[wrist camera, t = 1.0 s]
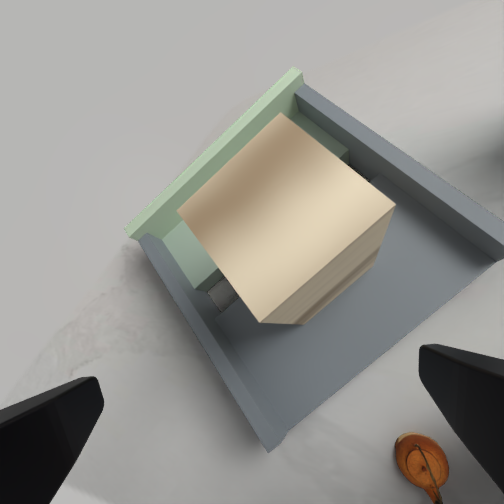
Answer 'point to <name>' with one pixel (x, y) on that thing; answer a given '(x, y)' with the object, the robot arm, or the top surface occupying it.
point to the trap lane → (351, 299)
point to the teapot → (422, 463)
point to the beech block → (288, 223)
